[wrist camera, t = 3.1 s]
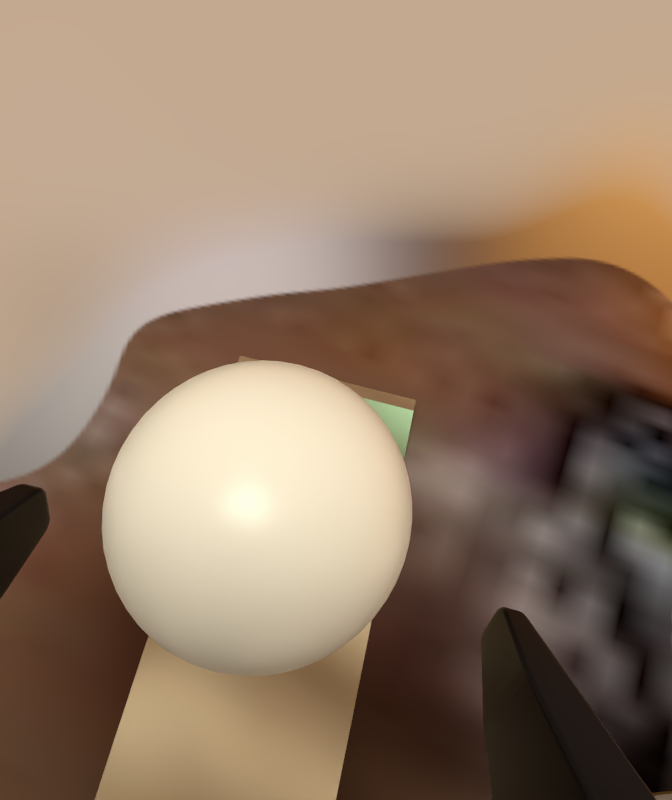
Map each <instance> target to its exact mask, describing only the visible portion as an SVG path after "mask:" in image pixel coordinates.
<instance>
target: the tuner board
mask: <svg viewBox="0 0 672 800" xmlns="http://www.w3.org/2000/svg"><path fill="white" fill-rule="evenodd" d="M246 361H260V360H256V359H252V358H248V357H244V356H240V358H239V361H238V363H240V362H246ZM338 381H339V380H338ZM340 382H341V383H343V384H344V385H346V386H348V387H349V388H351V389H352V390H353V391H354V392H356V393H357V394H358V395H359V396H360V397H362V398H363V399H364V400H365V401H366V402H367V403H368V404H369V405H370V406H371V407H372V408H373V409H374V410H375V411H376V412H377V414H378V415H379V416H380V418H381V419H382V420H383V422H384V423H385V424H386V426H387V427H388V429H389V430H390V432H391V434H392V436H393V438H394V439H395V441H396V443H397V445H398V447H399V450H400V452H401V455H402V457H403V460H404V457H405V452H406V447H407V442H408V437H409V432H410V427H411V422H412V417H413V412H414V407H415V402H416V400H413V399H409V398H405V397H401V396H398V395H394V394H390V393H386V392H382V391H378V390H374V389H370V388H366V387H362V386H358V385H354V384H350V383H346V382H342V381H340ZM371 622H372V620H371V621H370V622H369V623H368V624H367V625H366V627H365V628H364V629H363V630H362V631H361V632H360V633H359V634H358V635H356V636H355V637H354V638H353V639H352V640H350V641H349V642H348V643H347V644H345V645H344V646H343V647H342V648H340V649H338V650H337V651H335V652H333V653H332V654H330V655H328V656H327V657H325V658H323V659H322V660H319V661H317V662H315V663H312V664H310V665H308V666H305V667H303V668H300V669H296V670H292V671H289V672H285V673H281V674H274V675H266V676H234V675H229V674H223V673H217V672H213V671H210V670H207V669H204V668H201V667H198V666H195V665H192V664H190V663H188V662H186V661H184V660H182V659H180V658H178V657H177V656H175V655H173V654H171V653H170V652H168V651H167V650H166V649H164V648H163V647H161V646H160V645H159V644H157V643H156V642H155V641H154V640H153V639H151V638H150V637H149V636H148V639H147V642H146V645H145V648H144V651H143V654H142V657H141V660H140V663H139V666H138V669H137V672H136V675H135V678H134V681H133V684H132V687H131V690H130V694H129V697H128V700H127V703H126V706H125V709H124V712H123V715H122V718H121V721H120V724H119V727H118V730H117V733H116V736H115V739H114V742H113V745H112V748H111V752H110V755H109V758H108V761H107V764H106V767H105V770H104V773H103V776H102V779H101V782H100V785H99V788H98V791H97V794H96V797H95V800H336V797H337V792H338V787H339V782H340V777H341V772H342V767H343V762H344V757H345V752H346V747H347V742H348V737H349V732H350V727H351V722H352V717H353V712H354V707H355V702H356V697H357V692H358V687H359V682H360V677H361V672H362V667H363V662H364V657H365V652H366V647H367V642H368V637H369V632H370V627H371Z"/></svg>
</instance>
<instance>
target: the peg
mask: <svg viewBox="0 0 672 800" xmlns="http://www.w3.org/2000/svg"><path fill="white" fill-rule="evenodd" d="M411 526H412V497H411V489H410V481H409V478H408V474H407V470H406V466H405V462H404V460H403V457H402V455H401V452H400V450H399V447H398V445H397V443H396V441H395V439H394V438H393V436H392V434H391V432H390V430H389V429H388V427H387V426H386V424H385V423H384V422H383V420H382V419H381V418H380V416H379V415H378V414H377V412H376V411H375V410H374V409H373V408H372V407H371V406H370V405H369V404H368V403H367V402H366V401H365V400H364V399H363V398H362V397H360V396H359V395H358V394H357V393H356V392H354V391H353V390H352V389H351V388H349V387H348V386H346V385H344V384H343V383H341V382H340V381H338V380H336V379H335V378H332V377H330V376H328V375H326V374H324V373H322V372H320V371H317V370H314V369H311V368H308V367H304V366H301V365H297V364H292V363H286V362H280V361H264V360H263V361H246V362H240V363H234V364H229V365H225V366H221V367H218V368H215V369H212V370H209V371H206V372H204V373H202V374H200V375H197V376H195V377H193V378H191V379H189V380H187V381H186V382H184V383H182V384H181V385H179V386H177V387H176V388H174V389H173V390H171V391H170V392H169V393H168V394H166V395H165V396H164V397H162V398H161V399H160V400H159V401H158V402H157V403H156V404H155V405H154V406H153V407H152V408H150V409H149V410H148V411H147V412H146V413H145V414H144V416H143V417H142V418H141V419H140V421H139V422H138V423H137V424H136V426H135V427H134V428H133V429H132V431H131V433H130V434H129V436H128V437H127V439H126V441H125V442H124V444H123V446H122V447H121V449H120V451H119V454H118V456H117V458H116V460H115V462H114V465H113V467H112V470H111V473H110V476H109V480H108V483H107V486H106V491H105V497H104V502H103V511H102V538H103V549H104V554H105V558H106V563H107V567H108V571H109V574H110V576H111V579H112V582H113V584H114V587H115V590H116V592H117V594H118V595H119V597H120V599H121V601H122V603H123V604H124V606H125V608H126V610H127V611H128V612H129V614H130V615H131V616H132V618H133V619H134V620H135V622H136V623H137V624H138V626H139V627H140V628H141V629H142V630H143V631H144V632H145V633H146V634H147V635H148V636H149V637H150V638H151V639H153V640H154V641H155V642H156V643H157V644H159V645H160V646H161V647H163V648H164V649H166V650H167V651H168V652H170V653H171V654H173V655H175V656H177V657H178V658H180V659H182V660H184V661H186V662H188V663H190V664H192V665H195V666H198V667H201V668H204V669H207V670H210V671H213V672H217V673H223V674H229V675H234V676H266V675H274V674H281V673H285V672H289V671H292V670H296V669H300V668H303V667H305V666H308V665H310V664H312V663H315V662H317V661H319V660H322V659H323V658H325V657H327V656H328V655H330V654H332V653H333V652H335V651H337V650H338V649H340V648H342V647H343V646H344V645H345V644H347V643H348V642H349V641H350V640H352V639H353V638H354V637H355V636H356V635H358V634H359V633H360V632H361V631H362V630H363V629H364V628H365V627H366V625H367V624H368V623H369V622H370V621H371V620H372V619H373V618H374V617H375V615H376V614H377V613H378V611H379V610H380V609H381V607H382V606H383V604H384V603H385V602H386V600H387V599H388V597H389V595H390V593H391V591H392V589H393V588H394V586H395V584H396V582H397V580H398V577H399V575H400V572H401V570H402V567H403V564H404V562H405V558H406V554H407V550H408V546H409V542H410V535H411Z"/></svg>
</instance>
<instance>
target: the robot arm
mask: <svg viewBox="0 0 672 800" xmlns="http://www.w3.org/2000/svg"><path fill="white" fill-rule="evenodd" d="M49 520H50V516H49V510H48V503H47V497H46V492H45V491H44V490H43V489H42V488H39V487H35V486H31V485H27V484H20V485H16V486H14V487H11V488H9V489H6V490H4V491H1V492H0V599H1V597H2V596H3V594H4V593H5V591H6V590H7V588H8V587H9V585H10V584H11V582H12V581H13V579H14V578H15V576H16V575H17V573H18V572H19V571H20V569H21V568H22V566H23V565H24V563H25V562H26V560H27V559H28V557H29V556H30V554H31V553H32V551H33V550H34V548H35V547H36V545H37V544H38V542H39V541H40V539H41V538H42V536H43V535H44V533H45V531H46V530H47V528H48V525H49ZM481 645H482V685H483V721H484V735H485V745H486V754H487V762H488V770H489V778H490V786H491V794H492V800H656V798H655V797H654V796H653V794H652V793H651V791H650V790H649V789H648V787H647V786H646V784H645V783H644V782H643V780H642V779H641V777H640V776H639V775H638V773H637V772H636V770H635V769H634V767H633V766H632V765H631V763H630V762H629V760H628V759H627V758H626V756H625V755H624V753H623V752H622V751H621V749H620V748H619V746H618V745H617V744H616V742H615V741H614V739H613V738H612V737H611V735H610V734H609V732H608V731H607V730H606V728H605V727H604V725H603V724H602V723H601V721H600V720H599V718H598V717H597V715H596V714H595V713H594V711H593V710H592V708H591V707H590V706H589V704H588V703H587V701H586V700H585V699H584V697H583V696H582V694H581V693H580V692H579V690H578V689H577V687H576V686H575V685H574V683H573V682H572V680H571V679H570V678H569V676H568V675H567V673H566V672H565V671H564V669H563V668H562V666H561V665H560V663H559V662H558V661H557V659H556V658H555V656H554V655H553V654H552V652H551V651H550V649H549V648H548V647H547V645H546V644H545V642H544V641H543V640H542V638H541V637H540V635H539V634H538V633H537V631H536V630H535V628H534V627H533V626H532V624H531V623H530V621H529V620H528V619H527V617H526V616H525V615H524V614H523V613H522V612H520V611H517V610H513V609H509V608H505V607H502V608H500V609H498V610H497V612H496V613H495V615H494V616H493V618H492V619H491V621H490V622H489V624H488V625H487V627H486V628H485V630H484V632H483V635H482V644H481Z"/></svg>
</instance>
